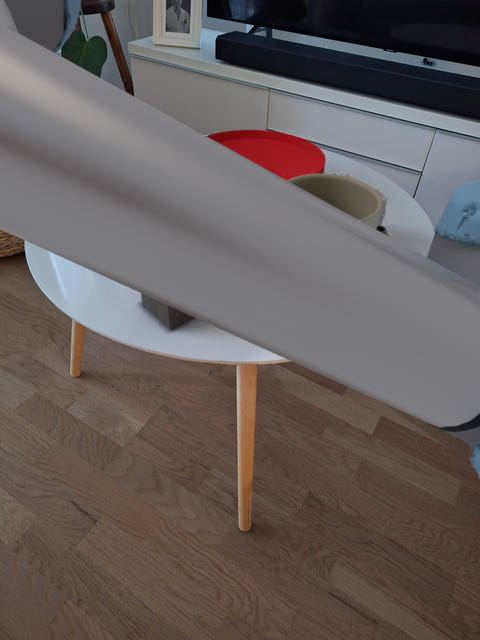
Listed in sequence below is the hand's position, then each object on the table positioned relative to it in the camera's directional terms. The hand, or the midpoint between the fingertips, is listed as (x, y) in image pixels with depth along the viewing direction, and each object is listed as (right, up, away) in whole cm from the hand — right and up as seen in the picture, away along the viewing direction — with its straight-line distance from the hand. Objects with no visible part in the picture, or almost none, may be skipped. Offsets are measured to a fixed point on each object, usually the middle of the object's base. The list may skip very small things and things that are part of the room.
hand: (218, 219), depth 58 cm
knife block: (-7, -10, +19) cm, 23 cm away
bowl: (+6, +15, +48) cm, 51 cm away
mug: (+26, +4, +37) cm, 45 cm away
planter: (+17, -4, +27) cm, 32 cm away
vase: (+27, -4, +28) cm, 39 cm away
